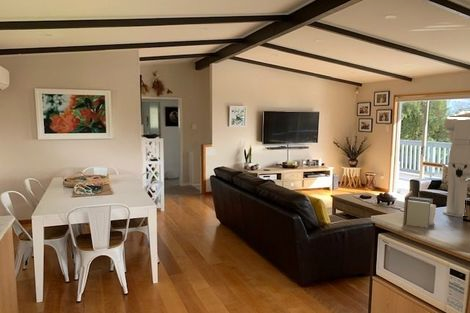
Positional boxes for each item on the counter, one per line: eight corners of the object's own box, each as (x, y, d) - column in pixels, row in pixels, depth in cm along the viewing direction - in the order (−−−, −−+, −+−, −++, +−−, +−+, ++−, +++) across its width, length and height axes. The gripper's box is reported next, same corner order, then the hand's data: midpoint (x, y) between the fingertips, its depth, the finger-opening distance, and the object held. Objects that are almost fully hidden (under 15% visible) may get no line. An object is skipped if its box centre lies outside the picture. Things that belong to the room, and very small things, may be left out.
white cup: (426, 225, 183) (427, 206, 182) (414, 221, 191) (416, 203, 190) (438, 224, 186) (439, 205, 185) (426, 220, 193) (427, 202, 192)
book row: (407, 222, 189) (409, 197, 187) (428, 225, 183) (430, 199, 181) (406, 224, 184) (407, 198, 183) (427, 228, 178) (429, 201, 177)
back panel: (408, 216, 200) (410, 190, 199) (410, 216, 200) (412, 191, 198) (403, 224, 185) (404, 196, 183) (405, 224, 184) (406, 197, 183)
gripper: (479, 142, 178) (476, 177, 181) (445, 141, 187) (443, 174, 189) (478, 143, 172) (475, 179, 175) (444, 142, 181) (441, 176, 184)
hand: (458, 176), depth 182 cm, fingers closed
